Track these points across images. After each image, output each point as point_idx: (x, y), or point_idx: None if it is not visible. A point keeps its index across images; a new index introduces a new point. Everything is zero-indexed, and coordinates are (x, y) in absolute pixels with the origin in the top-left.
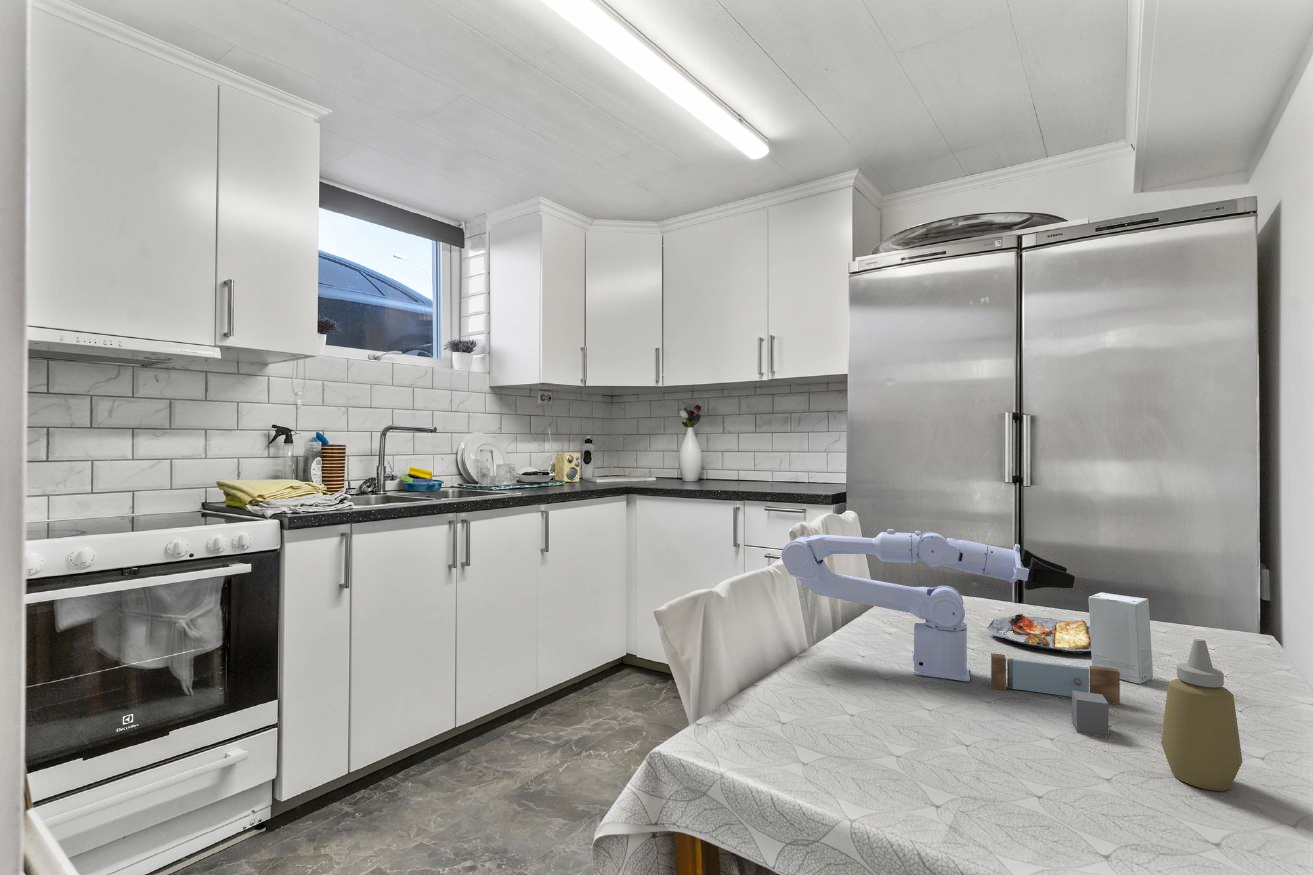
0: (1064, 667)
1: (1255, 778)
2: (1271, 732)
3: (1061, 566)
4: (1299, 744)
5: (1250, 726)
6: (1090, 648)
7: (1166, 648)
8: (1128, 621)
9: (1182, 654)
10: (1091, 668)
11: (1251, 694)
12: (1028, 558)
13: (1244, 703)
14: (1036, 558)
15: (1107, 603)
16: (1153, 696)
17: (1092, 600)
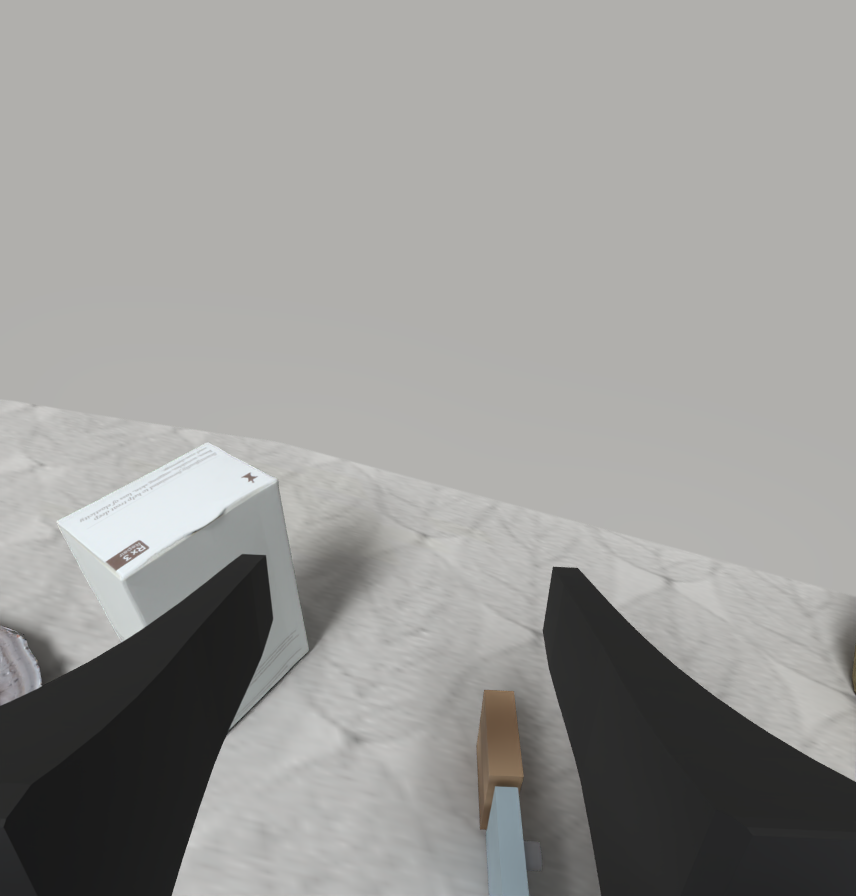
0: (527, 892)
1: (786, 616)
2: (518, 530)
3: (253, 571)
4: (554, 518)
5: (504, 546)
6: (3, 696)
7: (10, 524)
8: (267, 544)
9: (65, 512)
10: (523, 776)
11: (321, 496)
12: (89, 821)
13: (376, 518)
14: (138, 716)
15: (197, 544)
16: (391, 647)
17: (142, 578)
